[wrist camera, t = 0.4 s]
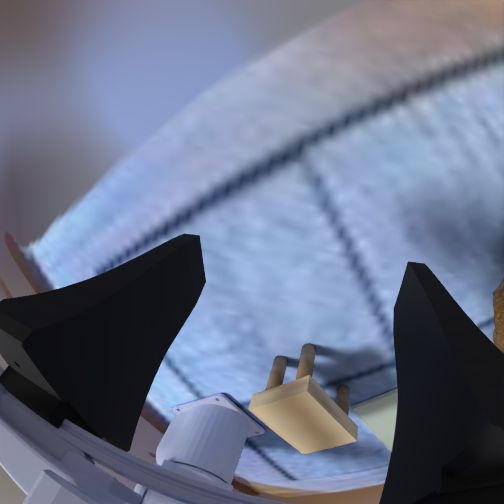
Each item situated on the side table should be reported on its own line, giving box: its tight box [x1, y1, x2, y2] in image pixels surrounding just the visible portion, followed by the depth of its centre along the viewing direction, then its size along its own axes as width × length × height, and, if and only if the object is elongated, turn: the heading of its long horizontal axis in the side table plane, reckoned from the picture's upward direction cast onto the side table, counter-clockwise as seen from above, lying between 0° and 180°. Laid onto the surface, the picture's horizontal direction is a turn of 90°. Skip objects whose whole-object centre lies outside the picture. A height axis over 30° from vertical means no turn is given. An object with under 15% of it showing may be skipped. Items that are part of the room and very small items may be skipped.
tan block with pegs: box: [248, 344, 358, 454], centre depth 24 cm, size 5×8×6 cm
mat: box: [352, 388, 398, 452], centre depth 26 cm, size 10×12×1 cm
